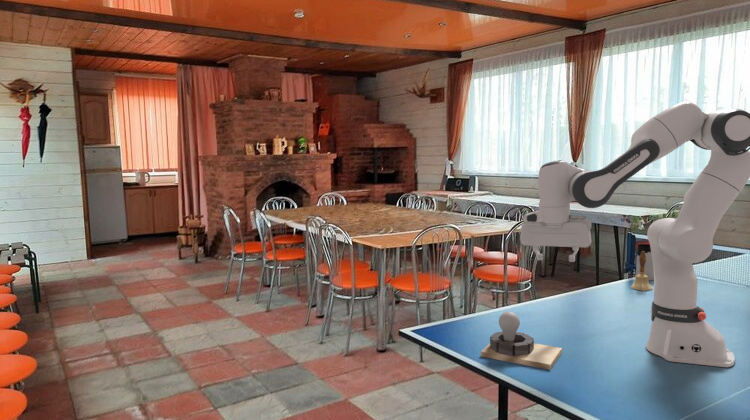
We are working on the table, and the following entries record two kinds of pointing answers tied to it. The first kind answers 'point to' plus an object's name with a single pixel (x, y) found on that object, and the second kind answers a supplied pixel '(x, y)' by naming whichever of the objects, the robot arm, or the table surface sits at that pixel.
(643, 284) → the hand bell
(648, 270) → the glass holder
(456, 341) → the table surface
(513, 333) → the lightbulb
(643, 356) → the table surface
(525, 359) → the socket board
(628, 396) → the table surface
